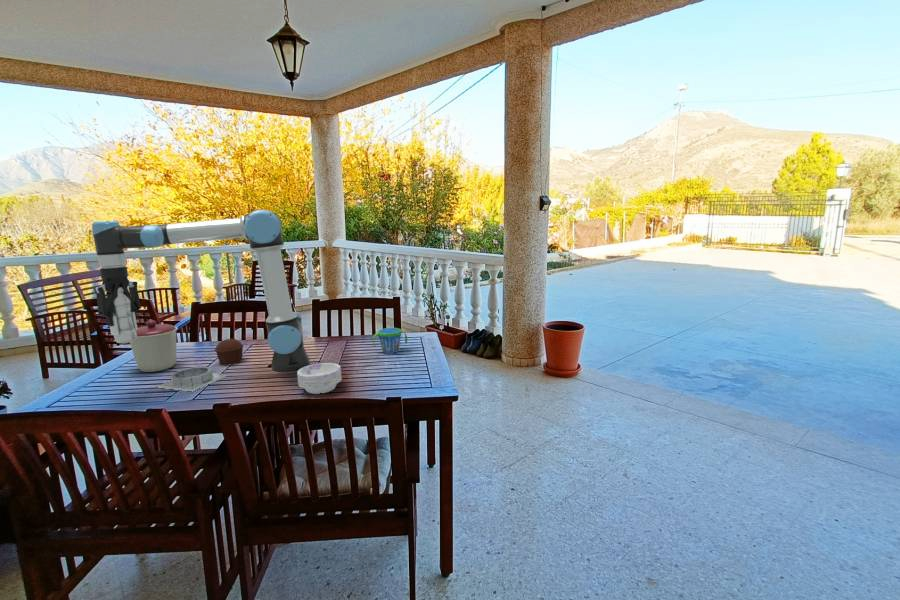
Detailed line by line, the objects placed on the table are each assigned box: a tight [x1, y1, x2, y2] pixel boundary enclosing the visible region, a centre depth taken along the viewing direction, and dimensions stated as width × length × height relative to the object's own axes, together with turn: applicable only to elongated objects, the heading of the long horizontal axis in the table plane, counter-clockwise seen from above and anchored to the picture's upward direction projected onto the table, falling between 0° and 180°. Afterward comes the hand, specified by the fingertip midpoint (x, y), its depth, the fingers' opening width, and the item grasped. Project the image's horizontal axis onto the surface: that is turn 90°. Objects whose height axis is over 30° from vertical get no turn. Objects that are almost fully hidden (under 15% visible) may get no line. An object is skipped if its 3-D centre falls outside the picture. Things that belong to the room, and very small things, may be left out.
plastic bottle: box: [113, 287, 137, 344], centre depth 154 cm, size 6×7×20 cm
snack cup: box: [372, 327, 408, 354], centre depth 202 cm, size 16×10×10 cm
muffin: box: [214, 338, 244, 366], centre depth 194 cm, size 12×11×10 cm
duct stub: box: [157, 366, 227, 393], centre depth 170 cm, size 16×16×4 cm
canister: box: [129, 319, 178, 373], centre depth 186 cm, size 18×18×21 cm
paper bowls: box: [296, 362, 342, 395], centre depth 160 cm, size 15×15×8 cm
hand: (124, 332), depth 155 cm, fingers closed on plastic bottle, 6 cm apart
